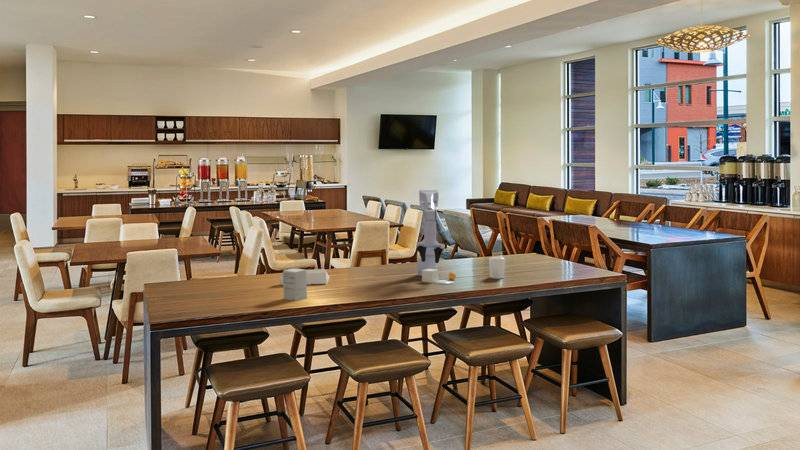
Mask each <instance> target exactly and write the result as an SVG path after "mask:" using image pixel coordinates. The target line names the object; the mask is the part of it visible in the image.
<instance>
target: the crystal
mask: <svg viewBox="0 0 800 450" xmlns="http://www.w3.org/2000/svg"><path fill="white" fill-rule="evenodd" d="M305 270H306V284H307V286H308V285H309V286H310V285H311V284H314V285H327V284H328V283H329V281H330V276H329V274H328V272H327V270H326V269H325V268H317V269H315V268H314V269H305ZM279 284H280V285H281V286H282V285H283V272H282V273H281V275H280V277H279Z"/></svg>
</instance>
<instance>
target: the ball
mask: <svg viewBox="0 0 800 450" xmlns="http://www.w3.org/2000/svg"><path fill="white" fill-rule="evenodd" d="M447 277H448V280H450V281H454V280H455V279H456V277H457V274H456V273H455V272H454V271H452V272H449V273H448V275H447Z"/></svg>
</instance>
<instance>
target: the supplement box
mask: <svg viewBox="0 0 800 450" xmlns="http://www.w3.org/2000/svg"><path fill="white" fill-rule="evenodd" d="M306 270H307V269H304V268H303V269H301V268H297V267H296V268H293V267H292V268H289V269H284V270H282V273H283V288H282V289H283V300H286V301H287V300H289V301H294V302H296V301H297V302H298V301H299V300H303V299H308V291H307V290H308V289H307V286H308V285H307V284H306Z"/></svg>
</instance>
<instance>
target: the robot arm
mask: <svg viewBox="0 0 800 450" xmlns="http://www.w3.org/2000/svg"><path fill="white" fill-rule="evenodd" d="M418 194H419V195H418V198H419V200H418V201H419V206H420V208H422V209H423V212H422V214H423V228H424V231H423V233H424V234H423V235H424V236H423V237H424V238H423V240H421V241H418V242H416V247H417V249H416V250H417V252H418V253H419V258H418V259H417V262H416V263H417V265H416V266H417V267H416V268H417V269H416V270H417V271H416V272H417V273H416V276H421V277H422V270H425V269H437V267H438V266H437V264H439V262H440V260H441V259H440V258H441V256H442V253H443V251H444V249H445V244H444V243H439V242H438V240H437V221H438V212H437V209H436V208H437V207H438V205H439V190H438V189H419V191H418ZM437 270H438V269H437ZM439 275H441V273H438V276H439Z"/></svg>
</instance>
